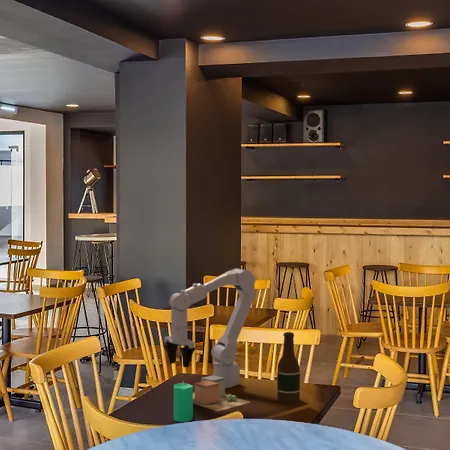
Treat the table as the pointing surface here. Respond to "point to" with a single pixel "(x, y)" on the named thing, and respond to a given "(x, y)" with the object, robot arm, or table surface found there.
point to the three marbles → (231, 397)
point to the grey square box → (217, 380)
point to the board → (221, 403)
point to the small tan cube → (206, 392)
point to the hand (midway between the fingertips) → (179, 365)
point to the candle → (183, 402)
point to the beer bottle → (288, 373)
